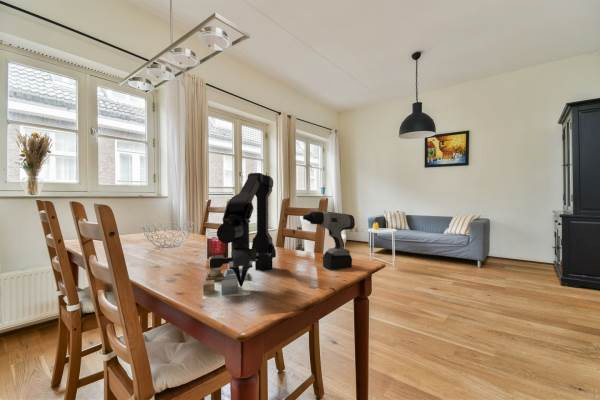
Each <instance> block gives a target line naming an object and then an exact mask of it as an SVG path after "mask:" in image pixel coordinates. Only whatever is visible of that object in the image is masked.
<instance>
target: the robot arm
mask: <svg viewBox="0 0 600 400" xmlns="http://www.w3.org/2000/svg"><path fill="white" fill-rule="evenodd" d="M273 188H274V179H273V178H272V177H271V176H270V175H266V174H263V173H261V172H250V173H248V174H247V179H246V181H245V182H244V184H243V186H242V188H241V189H240V191H239V193H238V194H235V195H233V196H232V197H231V199H229V200H228V203H227V205H226V207H225V209H224V213H223V217H222V222H223V223H222V224H221V225H220V226H218V228H217V230H216V236H217V239H218V241H220V242H221V243H222V244H230V246H231V247H230V248H231V249H230V250H231V251H230V257H229V256H228V257H224V254H216V255H212V256H210V257H211V258H210V268H220V267H221V268H222V266H224V265H227V264H228V266H229V267H228V269H233V271H234V272H235V274H236V276H237V279H238V282H239V285H240V287H242V286H243V282H244V279H245V276H246V273H247V272H248V271H249V269H251V268H253V262H254V264H255V266H254V267H255V268H254V270H255V271H260V272H262V271H263V272H266V271H271V270H273V259H274V258H276V257H277V256H276V255H277V254H276V253H277V251H276V247H275V245H274V243H273V238H272V236H271V235H270V232H269V197H270V195H271V193H272V192H273ZM254 197H256V234H255V236H254V237H253V238H252V244H251V248H250V223H251V220H250V219H252V218H251V217H252V214H253V212H254V204H253V200H254ZM240 267H241V269H242V273H241V277H240V271H239V269H240Z"/></svg>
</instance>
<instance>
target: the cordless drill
mask: <svg viewBox="0 0 600 400" xmlns="http://www.w3.org/2000/svg"><path fill="white" fill-rule="evenodd" d="M302 219H303V220H304V221H307V222H309V224H311V225H318V226H320V227H321V228H324V229H327V231H328V236H329V237H331V238H332V239H333V241H334V244H335V245H334V247H333V248H332V247H331V248H328V249H327V250H326V251H325V252H324V254H323V256H322V266H323V268H324V269H326V270H329V271H337V270H344V269H345V270H346V269H352V268H353V258H352V255H351V254H350V253H351V251H350V250H349V249H347V248H345V242H344V240H343V237H342V231H345V230H354V228H355V225H356V222H355V217H354V216H353V215H352V214H349V213H348V214H347V213H343V212H342V213H341V212H331V211H313V210H312V211H311V212H310V213H307V214H303V216H302Z"/></svg>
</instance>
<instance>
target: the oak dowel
mask: <svg viewBox="0 0 600 400" xmlns="http://www.w3.org/2000/svg"><path fill="white" fill-rule="evenodd" d="M211 257H212V256H210V257H208V263H209V264H208V265H209V266H208V267H209V268H208V269H209V271H208V273H209V278H210V277H221V273H222V266H221V267H220V268H210V258H211Z"/></svg>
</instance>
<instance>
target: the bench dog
mask: <svg viewBox="0 0 600 400" xmlns="http://www.w3.org/2000/svg"><path fill="white" fill-rule="evenodd" d="M202 285H203V286H202V293H203V295H211V294H214V280H208V281H206V280H204V281H203V284H202ZM203 295H202V296H203Z"/></svg>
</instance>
